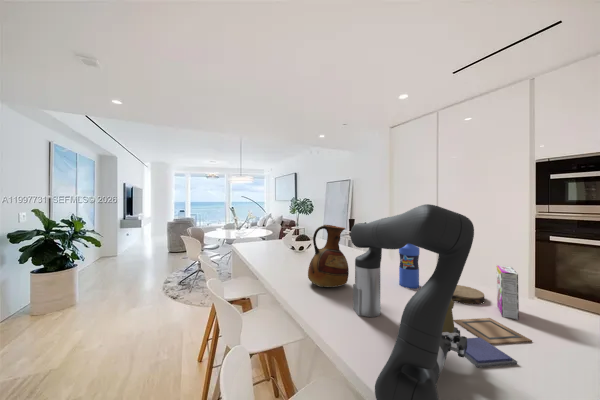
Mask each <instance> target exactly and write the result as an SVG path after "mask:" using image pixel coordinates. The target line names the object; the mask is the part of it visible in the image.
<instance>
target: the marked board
mask: <svg viewBox="0 0 600 400" xmlns="http://www.w3.org/2000/svg"><path fill="white" fill-rule="evenodd" d="M453 321H454V324H457V325H458V326H460V327H462V328H463V329H465V330H466V331H467V332H469V333H470V334H471V335H474V336H475V337H476V338H479V337H481V338H482V339H484V340H485V341H487V342H488V343H490V344H491V345H493V346H494V345H508V344H521V343H533V340H532V339H531V338H529V337H526V336H525V335H523V334H521V333H520V332H517V331H515V330H514V329H511V328H510V327H508V326H506V325H504V324H502V323H500V322H498V321H497V320H494V319H493V318H492V317H484V318H483V317H482V318H481V317H480V318H462V319H453Z"/></svg>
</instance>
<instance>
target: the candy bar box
mask: <svg viewBox="0 0 600 400" xmlns="http://www.w3.org/2000/svg"><path fill="white" fill-rule="evenodd" d="M496 292H497V293H496V302H497V304H496V306H497V308H498V312H500V315H501V317H503V318H506V319H511V320H517V321H519V319H520V310H519V309H520V308H519V307H520V306H519V303H520V302H519V301H520V300H519V273H517V272H516V270H515V269H514V268H513V266H506V265H496Z"/></svg>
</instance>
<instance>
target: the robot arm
mask: <svg viewBox="0 0 600 400" xmlns="http://www.w3.org/2000/svg"><path fill="white" fill-rule="evenodd" d="M349 236H350V240H351V243H352V244H353V246H354V247H356V248H358V249H368V250H367V251H366V252H364V253H363V254H361V255H358V256H356V257H355V258H354V259H355V260H354V283H353V284H352V286H353V287H352V292H353V293H352V295H353V297H352V301H353V302H352V303H353V304H352V308H353V311H354V312H355V313H356V314H357V316H362V317H366V318H376V317H379V316H380V315H381V309H382V308H381V266H382V265H381V262H382V252H383V251H382V250H399V249H400V248H403V247H404V246H406V245H407V243H409V244H412V245H415V246H417V247H419V249H420V248H421V249H422V250H426V251H429V252H433V253H434V254H438V256H437V257H438V258H437V262H436V263H437V264H436V265H435V269H434V271H433V273H432V274H431V276H430V277H429V278H428V279H427V280H426V282H425V283H424V284H423V285H422V286H421V287H419V288H418V290H417V291H416V292H415V293H414V294H413V295H412V296H411V298H410V299H409V300H408V302H407V303H406V305H405V306H404V309H403V312H402V315H401V318H400V323H399V328H398V332H397V335H396V340H395V343H394V346H393V349H392V351H391V353H390V355H389V358H388V359H387V361H386V362H385V364H384V367H383V368H382V369H381V371H380V373H379V374H378V376H377V378H376V381H375V385H374V396H375V399H376V400H440V399H439V394H438V389H437V383H438V378H439V376H440V374H441V373H442V371H443V369H444V367H445V362H446V359H447V355H448V353H449V352H451V351H453V352H455V353H457V356H458V357H459V358H465V357H464V355H465V353H466V350H467V338H468V337H467V336H464V335H461V330H460V329H459V328H458V327H455V326H454V330H453V333H449V332H443V333H442V331H443V326H444V321H445V317H446V314H447V310H448V307H449V304H450V302H451V299H452V296H453V294H454V291H455V289H456V286H457V285H459V284H458V283H459V282H460V278H461V275H462V273H463V270H464V268H465V266H466V262H467V260H468V257H469V256H470V255H469V254H470V253H471V250H472V249H471V248H472V247H473V241H474V239H475V237H474V236H475V226H474V224H473V222H472V220H471V219H470V218H469V217H468V216H466V215H463V214H461V213H459V212H456V211H454V210H453V211H452V210H450V209H447V208H444V207H441V206H438V205H434V204H431V203H430V204H421V205H419V206H415V207H414V208H410V209H409V210H407V211H405V212H403V213H400V214H397V215H393V216H387V217H384V218H380V219H377V220H373V221H370V222H366V223H365V222H364V223H363V222H362V223H361V222H360V223H359V222H358V223H355V224H354V225H353V226H352V227H351V230H350V235H349ZM452 339H453V340H452Z"/></svg>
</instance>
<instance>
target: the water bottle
mask: <svg viewBox="0 0 600 400" xmlns="http://www.w3.org/2000/svg"><path fill="white" fill-rule="evenodd" d="M398 255H399V267H398V269H399V271H398V272H399V273H398V276H399V279H398V282H399V283H398V284H399V286H400V287H402V288H405V289H410V290H412V289H413V290H414V289H420V266H419V260H420V247H417V246H415V245H412V244H409V243H407V245H406V246H404V247H403V248H400V249H398Z"/></svg>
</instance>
